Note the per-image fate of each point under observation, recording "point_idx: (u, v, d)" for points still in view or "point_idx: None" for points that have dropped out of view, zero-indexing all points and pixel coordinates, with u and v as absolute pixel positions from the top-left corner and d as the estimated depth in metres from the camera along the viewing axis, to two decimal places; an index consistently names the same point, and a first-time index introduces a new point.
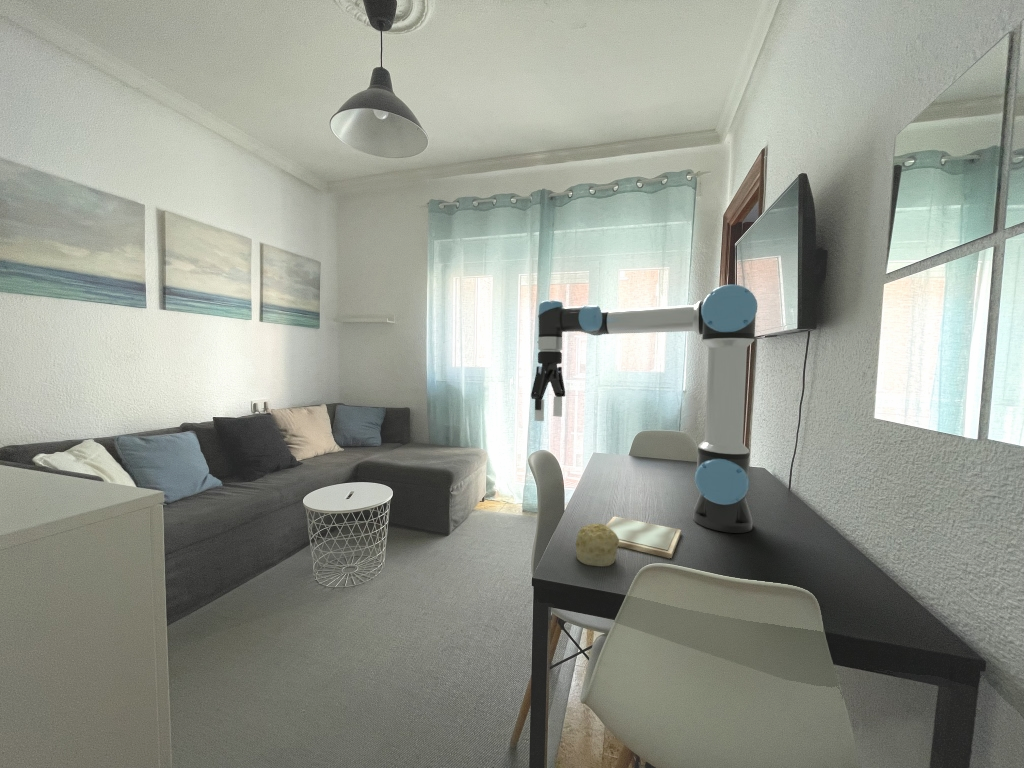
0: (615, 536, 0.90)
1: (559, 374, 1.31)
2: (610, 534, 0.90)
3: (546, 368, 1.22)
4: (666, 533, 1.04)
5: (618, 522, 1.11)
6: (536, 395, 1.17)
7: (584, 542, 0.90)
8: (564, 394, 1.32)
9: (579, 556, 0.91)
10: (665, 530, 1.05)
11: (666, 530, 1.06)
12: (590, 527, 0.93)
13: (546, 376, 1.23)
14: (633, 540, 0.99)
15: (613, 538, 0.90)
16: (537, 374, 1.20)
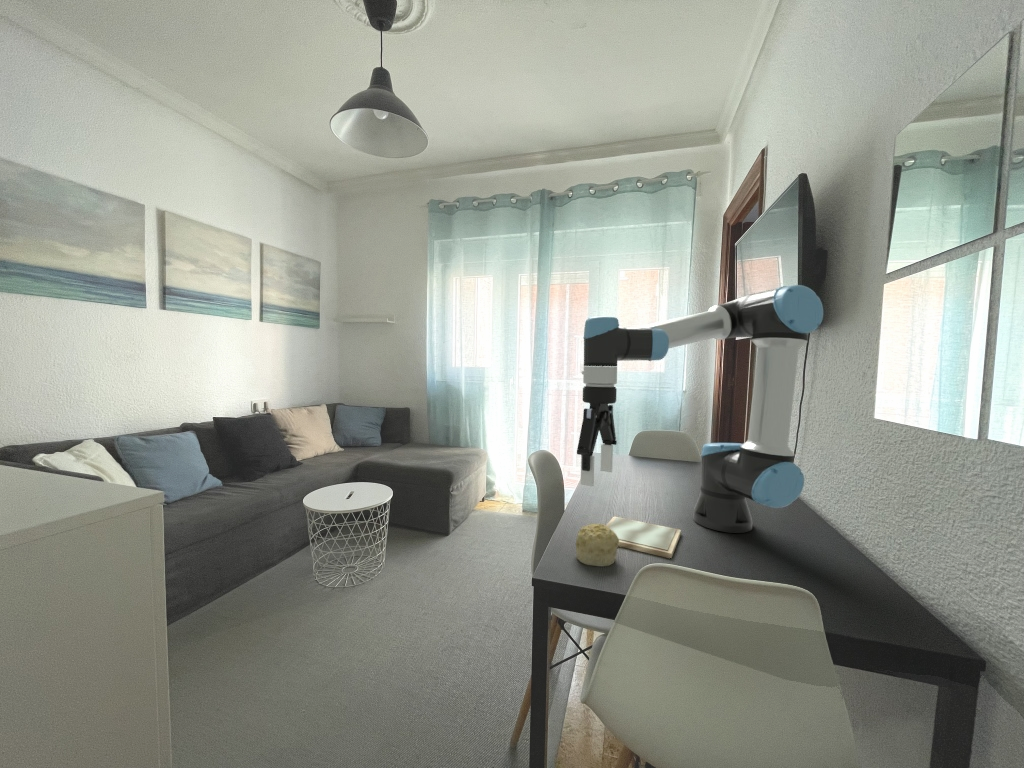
0: (615, 536, 0.90)
1: (609, 415, 0.96)
2: (610, 534, 0.90)
3: (596, 410, 0.87)
4: (666, 533, 1.04)
5: (618, 522, 1.11)
6: (585, 451, 0.83)
7: (583, 542, 0.90)
8: (615, 441, 0.97)
9: (579, 556, 0.91)
10: (665, 530, 1.05)
11: (666, 530, 1.06)
12: (590, 527, 0.93)
13: (596, 421, 0.89)
14: (633, 540, 0.99)
15: (613, 538, 0.90)
16: (585, 420, 0.86)
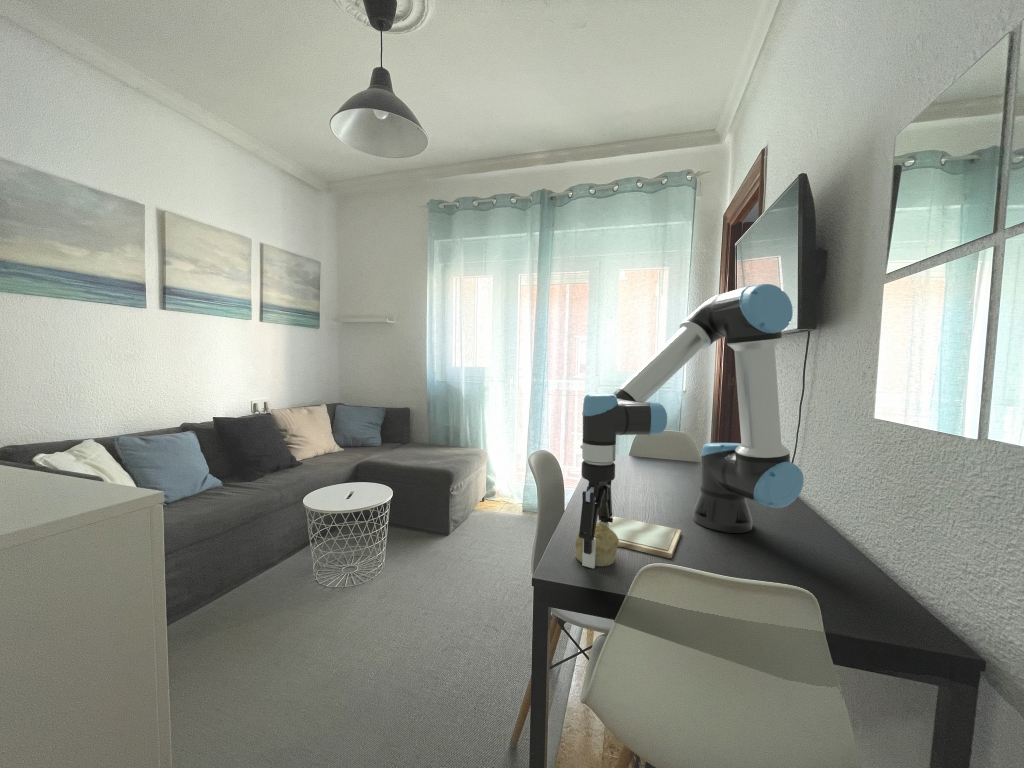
0: (615, 536, 0.90)
1: (608, 489, 0.96)
2: (610, 534, 0.90)
3: (595, 490, 0.88)
4: (666, 533, 1.04)
5: (618, 522, 1.11)
6: (587, 537, 0.85)
7: None
8: (612, 519, 0.97)
9: (579, 556, 0.91)
10: (665, 530, 1.05)
11: (666, 530, 1.06)
12: None
13: (595, 499, 0.90)
14: (633, 540, 0.99)
15: (613, 538, 0.89)
16: (584, 503, 0.86)
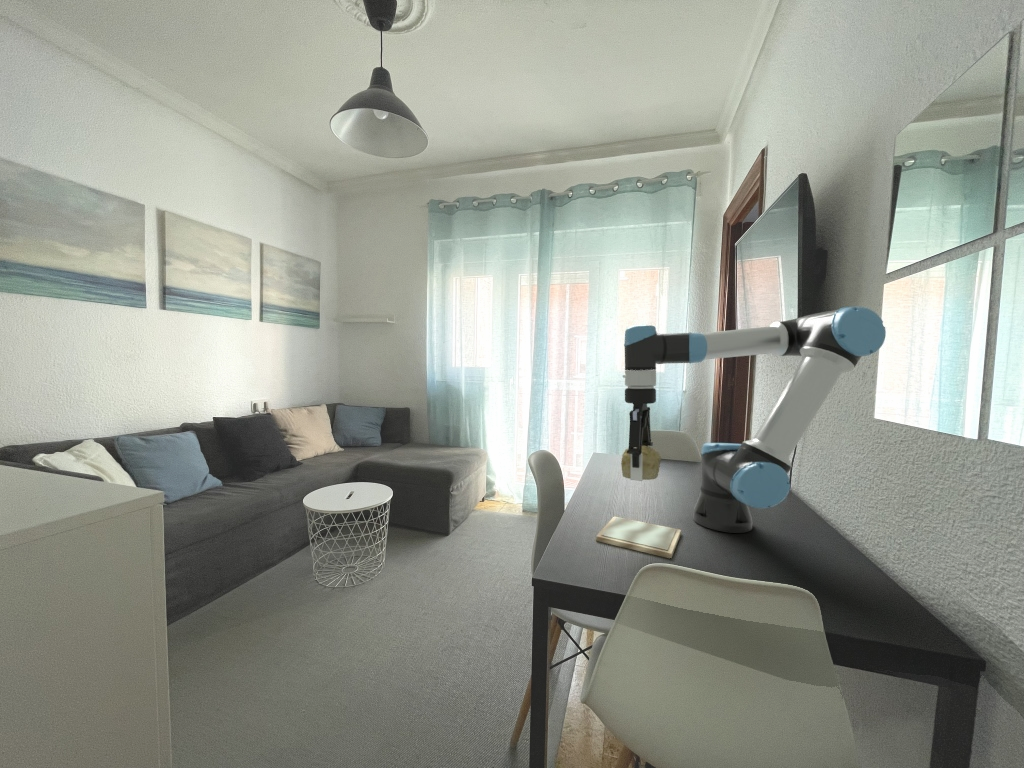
0: (658, 453, 1.00)
1: None
2: (653, 451, 0.99)
3: (640, 411, 0.97)
4: (666, 533, 1.04)
5: (618, 522, 1.11)
6: (636, 450, 0.94)
7: None
8: (652, 443, 1.06)
9: (626, 473, 1.00)
10: (665, 530, 1.05)
11: (666, 530, 1.06)
12: None
13: None
14: (633, 540, 0.99)
15: (656, 455, 0.99)
16: (632, 422, 0.96)
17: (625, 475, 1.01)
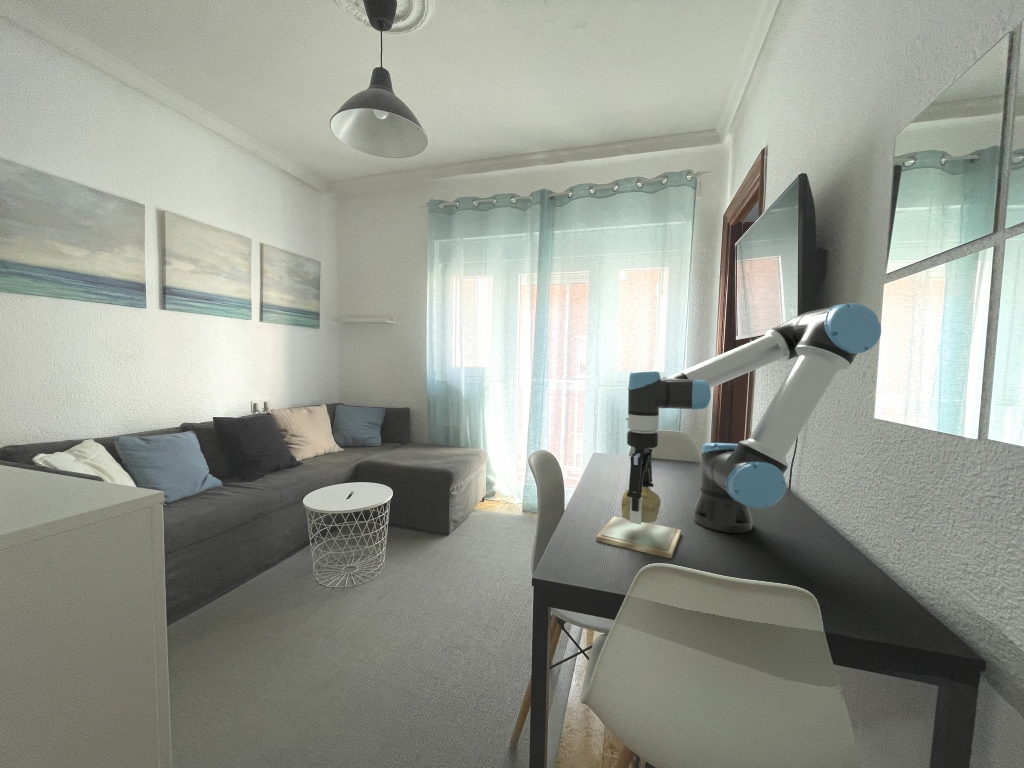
0: (657, 496, 1.02)
1: None
2: (653, 494, 1.01)
3: (641, 455, 0.99)
4: (666, 533, 1.04)
5: (618, 522, 1.11)
6: (635, 495, 0.96)
7: (629, 502, 1.02)
8: (653, 484, 1.08)
9: (625, 515, 1.02)
10: (665, 530, 1.05)
11: (666, 530, 1.06)
12: None
13: None
14: (633, 540, 0.99)
15: (656, 498, 1.01)
16: (632, 467, 0.98)
17: (624, 516, 1.03)
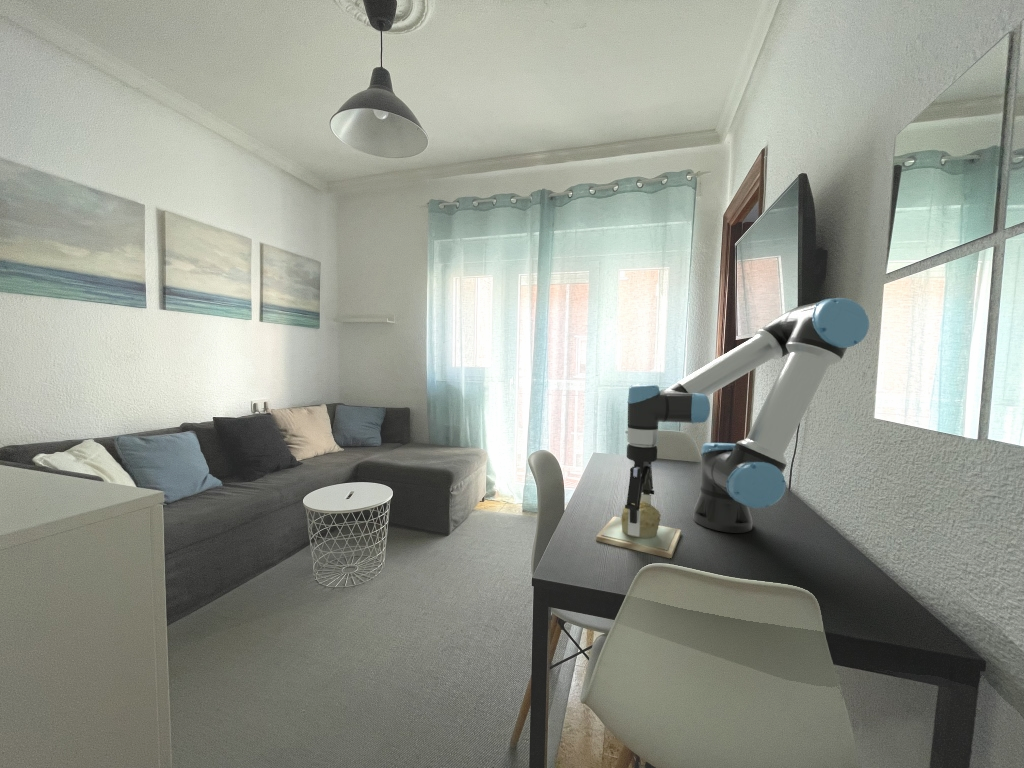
0: (657, 512, 1.02)
1: None
2: (653, 510, 1.01)
3: (641, 468, 1.00)
4: (666, 533, 1.04)
5: (618, 522, 1.11)
6: (633, 507, 0.95)
7: None
8: (653, 491, 1.09)
9: (625, 529, 1.02)
10: (665, 530, 1.05)
11: (666, 530, 1.06)
12: (634, 504, 1.04)
13: None
14: (633, 540, 0.99)
15: (656, 514, 1.01)
16: (632, 478, 0.98)
17: (624, 531, 1.03)
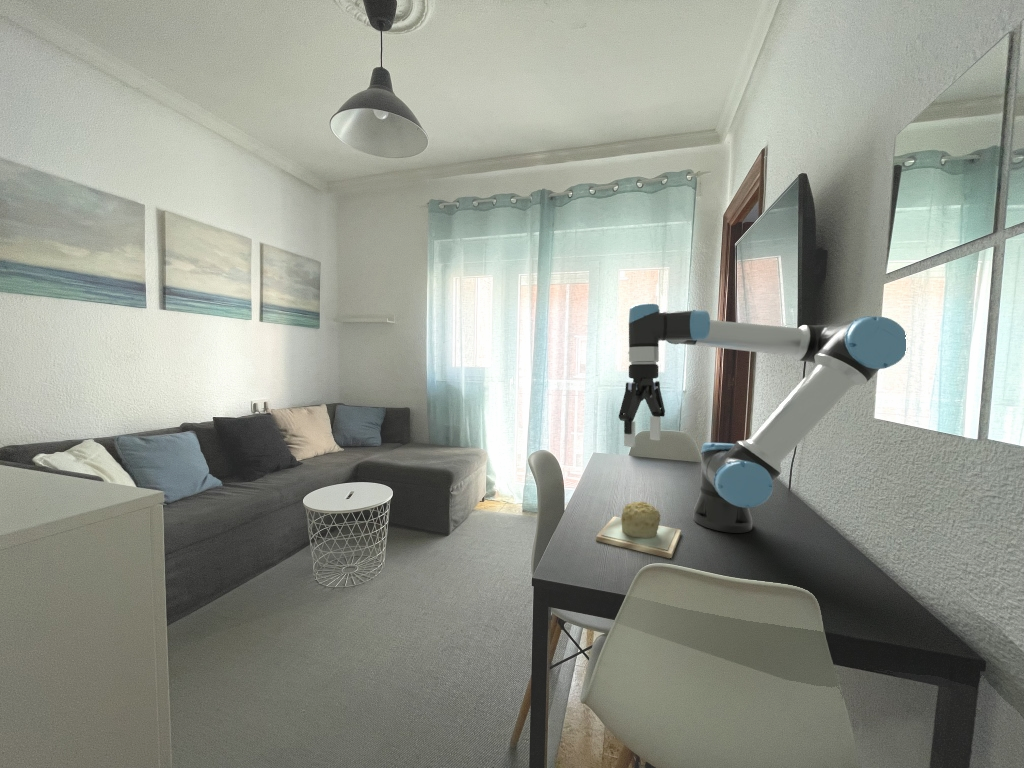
0: (657, 512, 1.02)
1: (656, 390, 1.10)
2: (653, 510, 1.01)
3: (638, 384, 1.03)
4: (666, 533, 1.04)
5: (618, 522, 1.11)
6: (625, 417, 0.99)
7: (629, 517, 1.02)
8: (663, 414, 1.11)
9: (625, 529, 1.02)
10: (665, 530, 1.05)
11: (666, 530, 1.06)
12: (634, 504, 1.04)
13: (638, 393, 1.04)
14: (633, 540, 0.99)
15: (656, 513, 1.01)
16: (626, 391, 1.02)
17: (624, 531, 1.03)
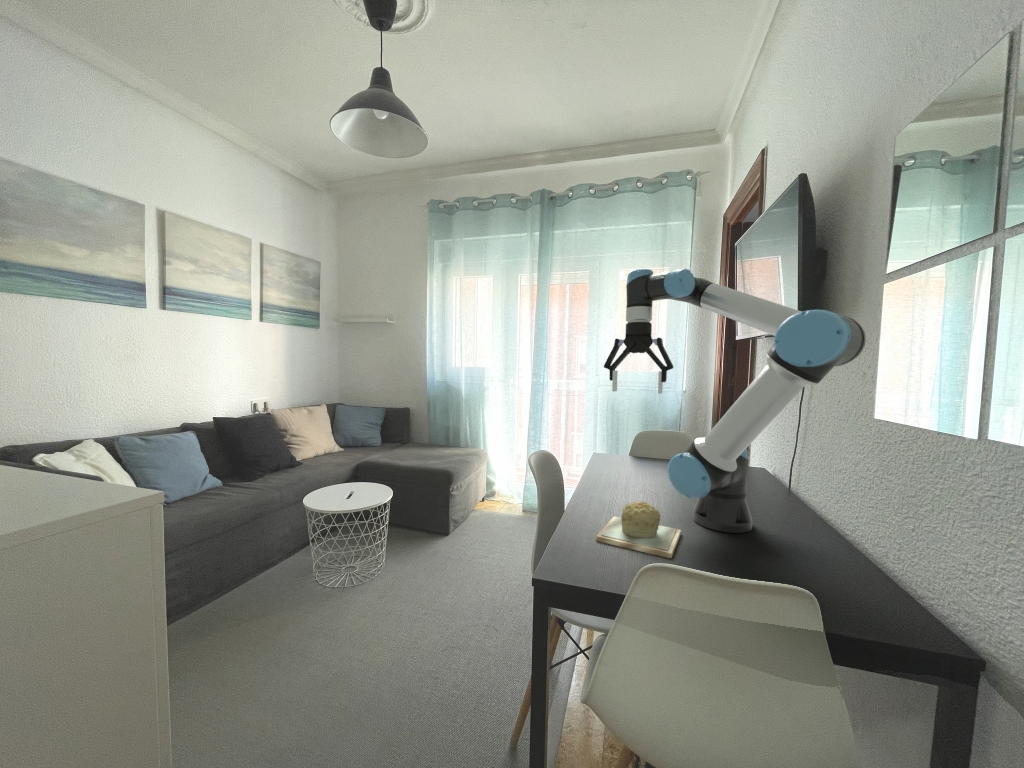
0: (657, 512, 1.02)
1: None
2: (653, 510, 1.01)
3: (624, 340, 1.23)
4: (666, 533, 1.04)
5: (618, 522, 1.11)
6: None
7: (629, 517, 1.02)
8: (663, 368, 1.16)
9: (625, 529, 1.02)
10: (665, 530, 1.05)
11: (666, 530, 1.06)
12: (634, 504, 1.04)
13: None
14: (633, 540, 0.99)
15: (656, 513, 1.01)
16: None
17: (624, 531, 1.03)
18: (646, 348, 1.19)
